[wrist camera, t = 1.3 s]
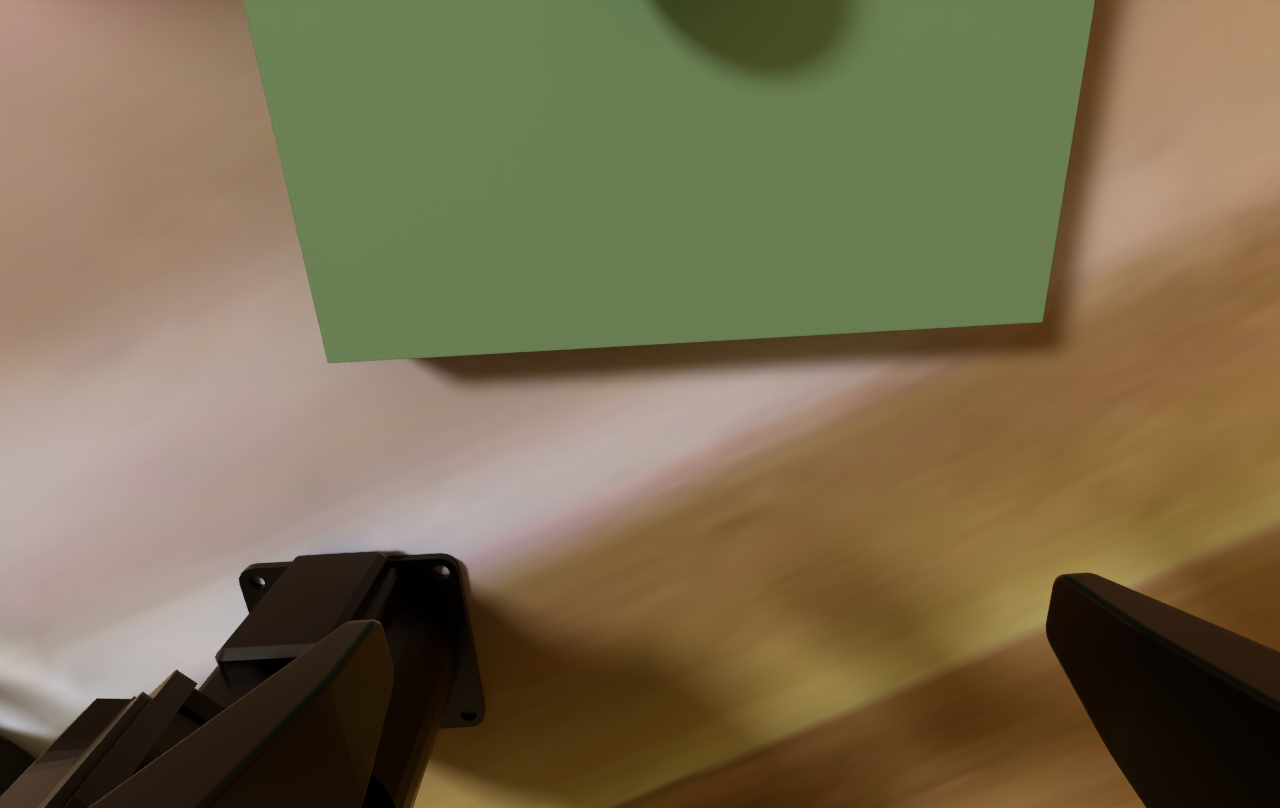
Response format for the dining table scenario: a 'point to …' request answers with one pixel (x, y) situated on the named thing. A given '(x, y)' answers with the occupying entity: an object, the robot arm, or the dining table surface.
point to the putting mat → (668, 166)
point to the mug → (11, 764)
